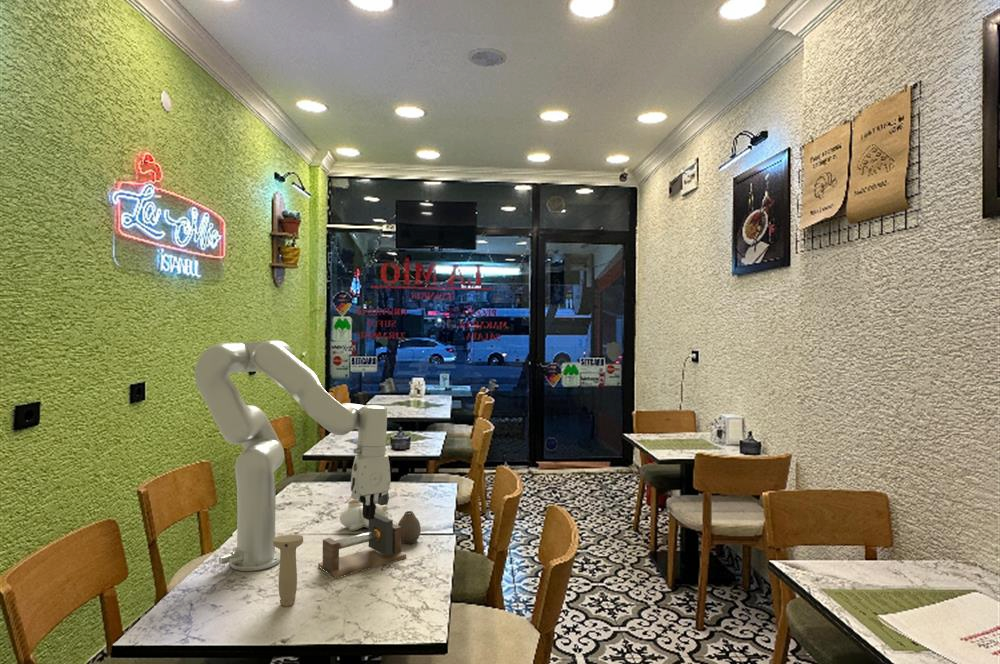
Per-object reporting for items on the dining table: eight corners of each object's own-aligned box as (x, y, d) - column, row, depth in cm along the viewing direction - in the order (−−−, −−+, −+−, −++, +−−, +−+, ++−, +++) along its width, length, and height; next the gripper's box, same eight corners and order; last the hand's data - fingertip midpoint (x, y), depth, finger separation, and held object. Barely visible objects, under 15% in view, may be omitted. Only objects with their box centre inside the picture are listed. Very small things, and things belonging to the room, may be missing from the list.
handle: (275, 600, 140) (275, 535, 140) (304, 598, 141) (304, 534, 141) (270, 609, 135) (271, 542, 135) (300, 608, 136) (301, 541, 136)
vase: (415, 546, 176) (416, 516, 175) (393, 544, 177) (393, 514, 177) (423, 538, 182) (423, 509, 182) (401, 536, 184) (402, 508, 184)
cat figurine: (337, 499, 190) (385, 492, 192) (341, 506, 197) (387, 499, 199) (338, 530, 185) (387, 523, 187) (342, 536, 192) (390, 529, 194)
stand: (336, 578, 152) (336, 547, 152) (318, 566, 160) (318, 536, 160) (406, 557, 167) (406, 529, 167) (386, 548, 174) (386, 520, 174)
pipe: (335, 553, 156) (335, 541, 156) (329, 550, 158) (329, 539, 158) (394, 537, 168) (394, 527, 168) (388, 534, 170) (389, 524, 170)
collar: (385, 555, 163) (386, 522, 163) (368, 546, 169) (368, 514, 169) (392, 553, 164) (392, 520, 164) (374, 544, 171) (375, 513, 171)
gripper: (353, 456, 157) (350, 527, 157) (402, 450, 167) (399, 516, 167) (339, 451, 162) (336, 519, 162) (387, 446, 173) (384, 510, 173)
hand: (368, 518), depth 165 cm, fingers closed
